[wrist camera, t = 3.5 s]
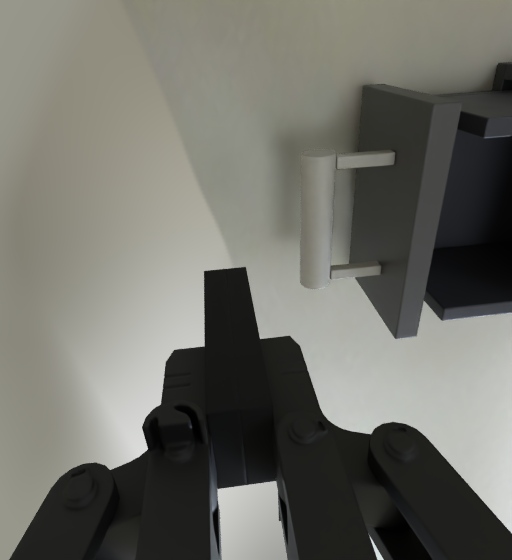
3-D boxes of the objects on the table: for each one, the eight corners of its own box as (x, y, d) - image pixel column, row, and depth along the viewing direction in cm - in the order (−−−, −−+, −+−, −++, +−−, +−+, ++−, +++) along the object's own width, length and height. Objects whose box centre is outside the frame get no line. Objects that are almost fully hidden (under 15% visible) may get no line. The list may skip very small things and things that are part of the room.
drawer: (285, 274, 27) (312, 349, 21) (282, 90, 22) (319, 111, 15) (532, 249, 29) (633, 312, 22) (593, 69, 23) (754, 81, 16)
